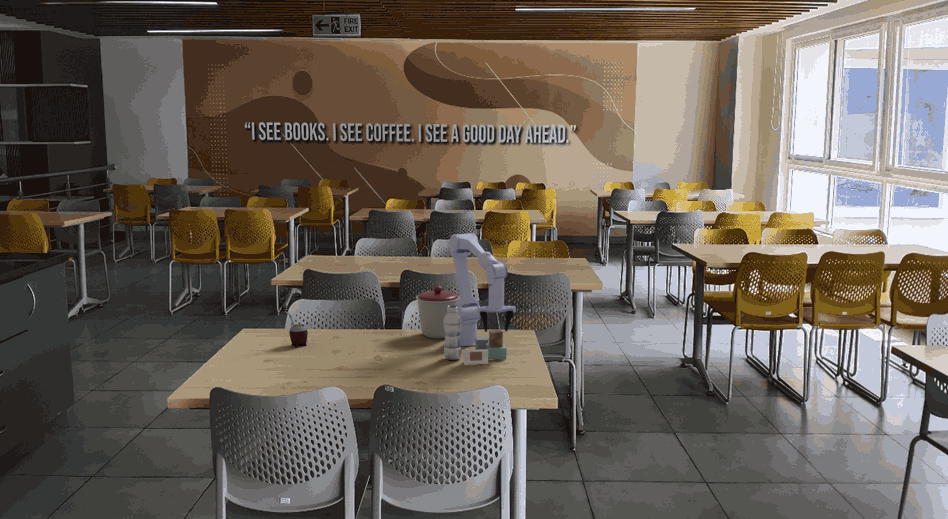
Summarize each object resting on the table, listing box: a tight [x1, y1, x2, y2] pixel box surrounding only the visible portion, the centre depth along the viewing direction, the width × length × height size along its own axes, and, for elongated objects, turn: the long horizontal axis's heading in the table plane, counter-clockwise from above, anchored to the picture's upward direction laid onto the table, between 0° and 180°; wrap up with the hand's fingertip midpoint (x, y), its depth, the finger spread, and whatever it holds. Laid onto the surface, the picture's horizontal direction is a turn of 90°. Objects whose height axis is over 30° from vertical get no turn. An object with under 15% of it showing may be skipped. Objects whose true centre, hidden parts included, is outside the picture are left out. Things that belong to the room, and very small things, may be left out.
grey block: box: [474, 336, 489, 350], centre depth 273 cm, size 4×4×6 cm
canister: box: [415, 285, 460, 339], centre depth 295 cm, size 18×18×21 cm
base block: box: [486, 342, 508, 360], centre depth 267 cm, size 7×7×4 cm
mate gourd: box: [284, 310, 309, 349], centre depth 280 cm, size 8×8×15 cm
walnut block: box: [488, 329, 504, 347], centre depth 267 cm, size 4×4×6 cm
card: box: [462, 349, 489, 366], centre depth 259 cm, size 9×3×5 cm, turn 97°
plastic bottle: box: [443, 306, 463, 361], centre depth 263 cm, size 6×7×20 cm
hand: (495, 331), depth 266 cm, fingers open, 7 cm apart
